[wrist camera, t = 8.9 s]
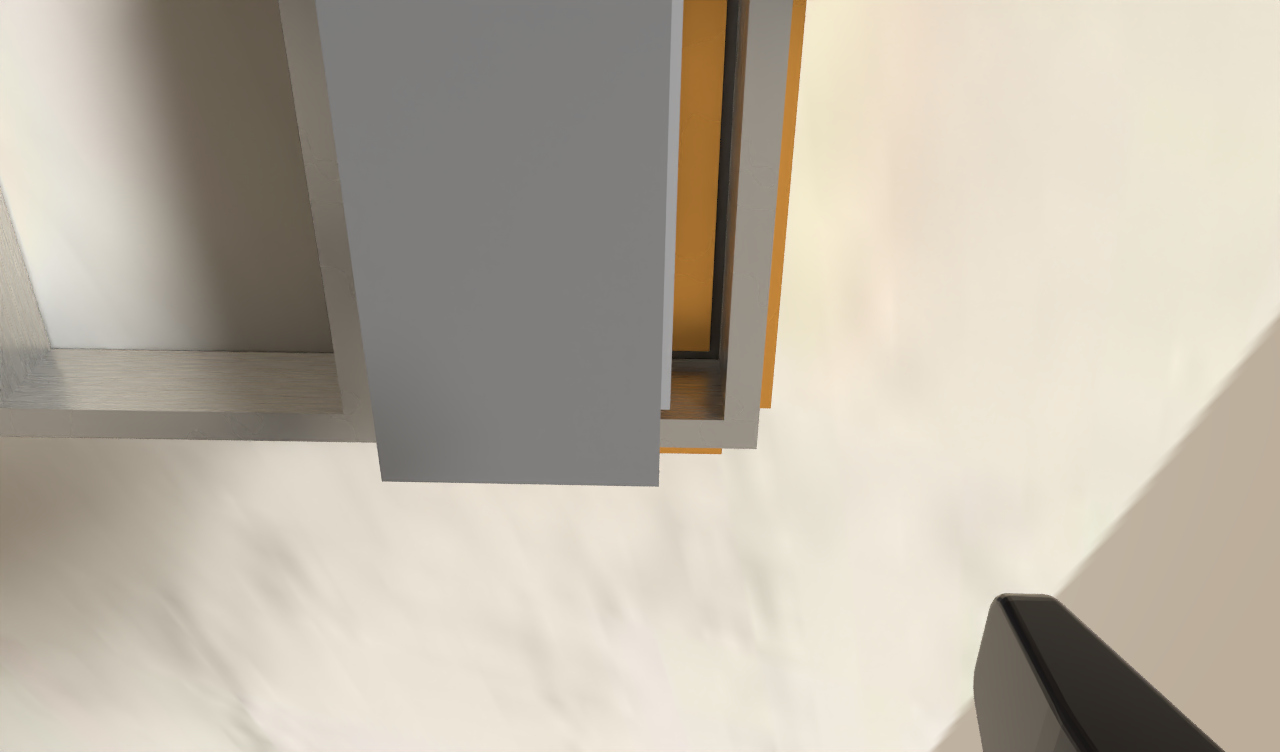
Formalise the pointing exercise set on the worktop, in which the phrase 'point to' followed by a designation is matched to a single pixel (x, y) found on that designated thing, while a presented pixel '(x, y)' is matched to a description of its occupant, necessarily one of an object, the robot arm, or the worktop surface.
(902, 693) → the worktop surface
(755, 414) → the tray
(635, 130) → the grey rectangular cuboid
